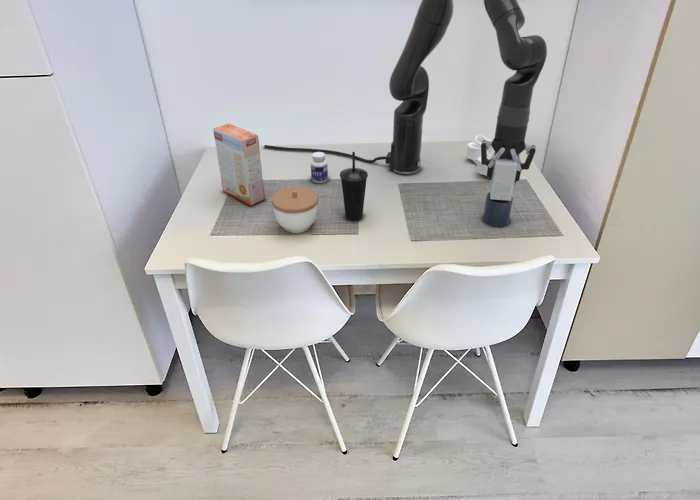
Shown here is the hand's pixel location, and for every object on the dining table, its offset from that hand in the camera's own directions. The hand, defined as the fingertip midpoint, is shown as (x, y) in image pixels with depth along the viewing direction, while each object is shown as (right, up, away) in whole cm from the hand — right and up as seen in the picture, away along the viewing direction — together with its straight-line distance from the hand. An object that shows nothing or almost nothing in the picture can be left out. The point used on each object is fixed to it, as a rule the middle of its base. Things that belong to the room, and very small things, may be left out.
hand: (502, 180), depth 143 cm
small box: (0, -3, +2) cm, 4 cm away
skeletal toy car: (+5, +9, +34) cm, 36 cm away
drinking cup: (-40, -9, +9) cm, 42 cm away
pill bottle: (-51, +4, +28) cm, 58 cm away
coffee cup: (0, -10, +7) cm, 13 cm away
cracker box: (-73, -2, +20) cm, 76 cm away
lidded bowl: (-56, -12, +6) cm, 57 cm away
